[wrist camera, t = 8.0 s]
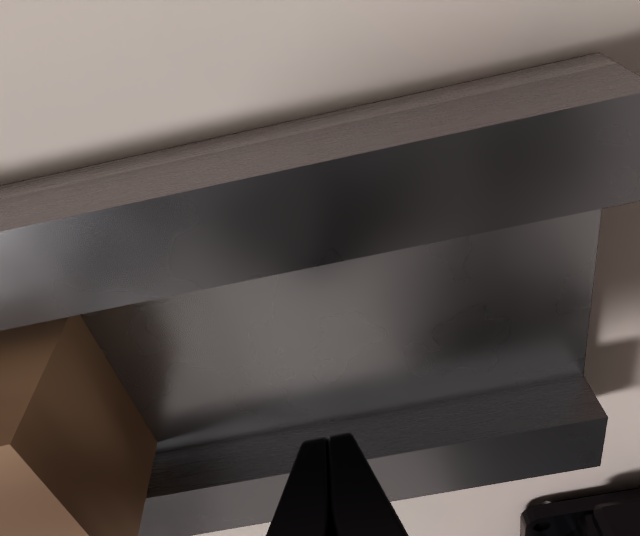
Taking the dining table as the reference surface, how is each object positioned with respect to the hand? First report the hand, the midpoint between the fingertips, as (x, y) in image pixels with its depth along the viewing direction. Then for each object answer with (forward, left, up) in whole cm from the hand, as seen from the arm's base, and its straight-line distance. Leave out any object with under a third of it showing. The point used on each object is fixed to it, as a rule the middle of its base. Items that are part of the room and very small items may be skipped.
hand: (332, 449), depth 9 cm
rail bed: (0, +3, -3) cm, 4 cm away
